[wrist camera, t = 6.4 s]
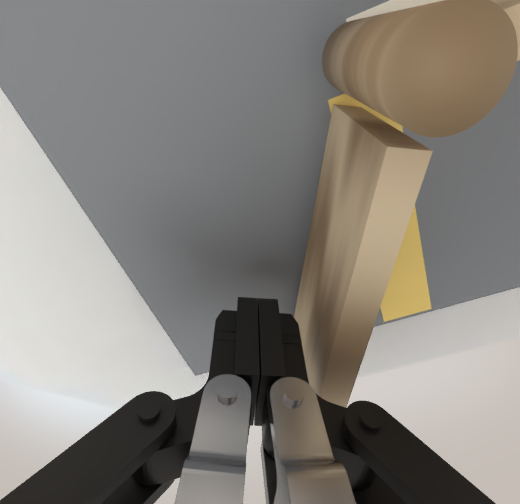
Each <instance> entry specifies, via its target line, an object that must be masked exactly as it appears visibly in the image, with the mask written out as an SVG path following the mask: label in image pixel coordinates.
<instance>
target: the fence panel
mask: <svg viewBox="0 0 520 504" xmlns="http://www.w3.org/2000/svg"><path fill="white" fill-rule="evenodd" d="M432 152H433V151H432V150H430V149H429V148H427V147H425V146H424V145H422V144H420V143H419V142H417V141H416V140H414V139H412V138H411V137H409V136H407V135H406V134H404V133H402V132H401V131H399V130H398V129H396V128H394V127H393V126H391V125H389V124H388V123H386V122H384V121H383V120H381V119H380V118H378V117H376V116H375V115H373V114H371V113H370V112H368V111H366V110H365V109H363V108H362V107H356V106H346V105H336V104H333V109H332V114H331V119H330V125H329V130H328V136H327V141H326V146H325V152H324V157H323V163H322V168H321V173H320V179H319V184H318V189H317V195H316V200H315V206H314V211H313V216H312V222H311V227H310V233H309V238H308V243H307V249H306V254H305V260H304V265H303V270H302V276H301V281H300V286H299V292H298V297H297V303H296V308H295V313H294V318H295V320H296V321H297V322H298V324H299V330H300V337H301V341H302V347H303V353H304V359H305V364H306V370H307V376H308V381H309V384H310V386H311V387H312V388H313V389H314V391H315V393H316V394H317V395H318V396H320V397H321V398H323V399H324V400H326V401H328V402H331V403H334V404H336V405H339V406H342V407H345V408H346V407H347V404H348V401H349V398H350V395H351V392H352V389H353V386H354V383H355V380H356V377H357V374H358V371H359V368H360V365H361V362H362V359H363V356H364V354H365V351H366V348H367V345H368V342H369V339H370V336H371V333H372V330H373V327H374V324H375V321H376V318H377V315H378V312H379V309H380V306H381V303H382V300H383V297H384V294H385V291H386V288H387V285H388V282H389V279H390V276H391V273H392V271H393V268H394V265H395V262H396V259H397V256H398V253H399V250H400V247H401V244H402V241H403V238H404V235H405V232H406V229H407V226H408V223H409V220H410V217H411V214H412V211H413V208H414V205H415V202H416V199H417V196H418V193H419V190H420V188H421V185H422V182H423V179H424V176H425V173H426V170H427V167H428V164H429V161H430V158H431V155H432Z"/></svg>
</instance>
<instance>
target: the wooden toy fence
mask: <svg viewBox="0 0 520 504" xmlns="http://www.w3.org/2000/svg"><path fill="white" fill-rule="evenodd" d="M519 60H520V0H443V1H439V2H434V3H430V4H425V5H421V6H416V7H411V8H407V9H402V10H398V11H393V12H389V13H384V14H380V15H375V16H370V17H366V18H361V19H357V20H352V21H349V22H346V23H344V24H342V25H341V26H339V27H338V28H337V29H336V30H335V31H334V32H333V33H332V34H331V35H330V37H329V38H328V40H327V42H326V44H325V47H324V50H323V55H322V66H323V71H324V74H325V76H326V78H327V80H328V81H329V83H330V84H331V85H332V86H333V87H335V88H336V89H338V90H340V91H341V92H343V93H345V94H347V95H348V96H350V97H352V98H354V99H356V100H357V101H359V102H361V103H363V104H364V105H366V106H368V107H370V108H371V109H373V110H375V111H377V112H378V113H380V114H382V115H384V116H385V117H387V118H389V119H391V120H392V121H394V122H396V123H398V124H399V125H401V126H403V127H405V128H406V129H408V130H410V131H412V132H414V133H416V134H418V135H422V136H426V137H446V136H451V135H454V134H457V133H460V132H462V131H464V130H466V129H468V128H470V127H472V126H473V125H475V124H476V123H478V122H479V121H480V120H482V119H483V118H484V117H485V116H486V115H487V114H488V113H489V112H490V111H491V110H492V109H493V108H494V107H495V106H496V105H497V103H498V102H499V101H500V99H501V98H502V96H503V95H504V93H505V91H506V90H507V88H508V86H509V84H510V81H511V79H512V76H513V73H514V70H515V67H516V61H519Z"/></svg>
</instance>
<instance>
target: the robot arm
mask: <svg viewBox="0 0 520 504" xmlns="http://www.w3.org/2000/svg"><path fill="white" fill-rule="evenodd" d="M253 421H254V425H256V426H262V444H261V458H262V468H263V477H264V487H265V496H266V504H495V503H494V502H493V501H492V500H491V499H489V498H488V497H487V496H486V495H485V494H484V493H482V492H481V491H480V490H479V489H478V488H476V487H475V486H474V485H473V484H472V483H471V482H469V481H468V480H467V479H466V478H465V477H463V476H462V475H461V474H460V473H459V472H458V471H456V470H455V469H454V468H453V467H451V466H450V465H449V464H448V463H447V462H446V461H444V460H443V459H442V458H441V457H440V456H438V455H437V454H436V453H435V452H434V451H433V450H431V449H430V448H429V447H428V446H427V445H425V444H424V443H423V442H422V441H421V440H420V439H418V438H417V437H416V436H415V435H414V434H412V433H411V432H410V431H409V430H408V429H407V428H405V427H404V426H403V425H402V424H401V423H399V422H398V421H397V420H396V419H395V418H393V417H392V416H391V415H390V414H388V413H387V412H386V411H385V410H384V409H383V408H381V407H380V406H378V405H377V404H374V403H372V402H368V401H356V402H353V403H352V404H350V405H349V406H348V408H345V407H342V406H339V405H336V404H334V403H331V402H328V401H326V400H324V399H323V398H321V397H320V396H318V395H317V394H316V393H315V391H314V389H313V388H312V387H311V386H310V384H309V381H308V376H307V370H306V364H305V359H304V353H303V347H302V341H301V337H300V330H299V324H298V322H297V321H296V320H295V318H294V317H293V316H292V314H287V313H279V305H278V299H267V298H258V301H257V298H249V297H238V300H237V311H233V310H222V311H221V313H220V314H219V315H218V317H217V318H216V321H215V329H214V337H213V345H212V354H211V362H210V370H209V377H208V380H207V382H206V384H205V385H204V386H203V388H202V389H200V390H199V391H198V392H196V393H195V394H193V395H191V396H188V397H184V398H180V399H177V400H172V399H171V398H170V397H169V396H168V395H167V394H164V393H162V392H156V391H151V392H145V393H142V394H140V395H138V396H136V397H135V398H133V399H132V400H130V401H129V402H128V403H127V404H125V405H124V406H123V407H121V408H120V409H119V410H117V411H116V412H115V413H114V414H112V415H111V416H110V417H108V418H107V419H106V420H104V421H103V422H102V423H100V424H99V425H98V426H97V427H95V428H94V429H93V430H91V431H90V432H89V433H87V434H86V435H85V436H84V437H82V438H81V439H80V440H78V441H77V442H76V443H74V444H73V445H72V446H71V447H69V448H68V449H67V450H65V451H64V452H63V453H61V454H60V455H59V456H58V457H56V458H55V459H54V460H52V461H51V462H50V463H48V464H47V465H46V466H45V467H44V468H42V469H41V470H39V471H38V472H37V473H35V474H34V475H33V476H31V477H30V478H29V479H27V480H26V481H25V482H24V483H22V484H21V485H20V486H18V487H17V488H16V489H15V490H13V491H12V492H11V493H9V494H8V495H7V496H5V497H4V498H3V499H1V500H0V504H154V503H155V501H156V500H157V499H158V498H159V497H160V496H161V495H162V494H163V493H164V492H165V491H166V490H167V489H168V488H169V486H170V485H171V484H172V483H173V481H174V479H176V478H179V477H180V482H179V486H178V491H177V495H176V499H175V504H243V495H244V484H245V472H246V451H247V443H248V435H249V428H250V425H253Z"/></svg>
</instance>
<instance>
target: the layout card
mask: <svg viewBox="0 0 520 504" xmlns="http://www.w3.org/2000/svg"><path fill="white" fill-rule="evenodd" d="M439 1H443V0H0V87H1V89H2V90H3V92H4V93H5V95H6V96H7V98H8V99H9V101H10V102H11V103H12V105H13V106H14V108H15V109H16V111H17V112H18V114H19V115H20V117H21V118H22V120H23V121H24V123H25V124H26V126H27V127H28V129H29V130H30V132H31V133H32V135H33V136H34V138H35V139H36V141H37V142H38V143H39V145H40V146H41V148H42V149H43V151H44V152H45V154H46V155H47V157H48V158H49V160H50V161H51V163H52V164H53V166H54V167H55V169H56V170H57V172H58V173H59V175H60V176H61V178H62V179H63V180H64V182H65V183H66V185H67V186H68V188H69V189H70V191H71V192H72V194H73V195H74V197H75V198H76V200H77V201H78V203H79V204H80V206H81V207H82V209H83V210H84V212H85V213H86V215H87V216H88V217H89V219H90V220H91V222H92V223H93V225H94V226H95V228H96V229H97V231H98V232H99V234H100V235H101V237H102V238H103V240H104V241H105V243H106V244H107V246H108V247H109V249H110V250H111V252H112V253H113V255H114V256H115V257H116V259H117V260H118V262H119V263H120V265H121V266H122V268H123V269H124V271H125V272H126V274H127V275H128V277H129V278H130V280H131V281H132V283H133V284H134V286H135V287H136V289H137V290H138V292H139V293H140V294H141V296H142V297H143V299H144V300H145V302H146V303H147V305H148V306H149V308H150V309H151V311H152V312H153V314H154V315H155V317H156V318H157V320H158V321H159V323H160V324H161V326H162V327H163V329H164V330H165V331H166V333H167V334H168V336H169V337H170V339H171V340H172V342H173V343H174V345H175V346H176V348H177V349H178V351H179V352H180V354H181V355H182V357H183V358H184V360H185V361H186V363H187V364H188V366H189V367H190V368H191V370H192V371H193V373H194V374H195V376H196V375H200V374H203V373H207V372H209V370H210V362H211V354H212V345H213V337H214V329H215V321H216V318H217V317H218V315H219V314H220V313H221V311H222V310H233V311H237V300H238V297H249V298H257V301H258V298H267V299H278V305H279V313H287V314H292V316H293V317H294V313H295V308H296V303H297V297H298V292H299V286H300V281H301V276H302V270H303V265H304V260H305V254H306V249H307V243H308V238H309V233H310V227H311V222H312V216H313V211H314V206H315V200H316V195H317V189H318V184H319V179H320V173H321V168H322V163H323V157H324V152H325V146H326V141H327V136H328V130H329V125H330V119H331V114H332V109H333V104H336V105H346V106H356V107H362V108H363V109H365V110H366V111H368V112H370V113H371V114H373V115H375V116H376V117H378V118H380V119H381V120H383V121H384V122H386V123H388V124H389V125H391V126H393V127H394V128H396V129H398V130H399V131H401V132H402V133H404V134H406V135H407V136H409V137H411V138H412V139H414V140H416V141H417V142H419V143H420V144H422V145H424V146H425V147H427V148H429V149H430V150H432V151H433V152H432V155H431V158H430V161H429V164H428V167H427V170H426V173H425V176H424V179H423V182H422V185H421V188H420V190H419V193H418V196H417V199H416V202H415V205H414V208H413V211H412V214H411V217H410V220H409V223H408V226H407V229H406V232H405V235H404V238H403V241H402V244H401V247H400V250H399V253H398V256H397V259H396V262H395V265H394V268H393V271H392V273H391V276H390V279H389V282H388V285H387V288H386V291H385V294H384V297H383V300H382V303H381V306H380V309H379V312H378V315H377V318H376V321H375V324H374V327H375V326H379V325H382V324H386V323H389V322H393V321H397V320H400V319H404V318H408V317H411V316H415V315H419V314H422V313H426V312H430V311H433V310H437V309H441V308H444V307H448V306H452V305H455V304H459V303H463V302H466V301H470V300H473V299H477V298H481V297H484V296H488V295H492V294H495V293H499V292H503V291H506V290H510V289H514V288H517V287H520V60H519V61H516V67H515V70H514V73H513V76H512V79H511V81H510V84H509V86H508V88H507V90H506V91H505V93H504V95H503V96H502V98H501V99H500V101H499V102H498V103H497V105H496V106H495V107H494V108H493V109H492V110H491V111H490V112H489V113H488V114H487V115H486V116H485V117H484V118H483V119H482V120H480V121H479V122H478V123H476V124H475V125H473V126H472V127H470V128H468V129H466V130H464V131H462V132H460V133H457V134H454V135H451V136H446V137H426V136H422V135H418V134H416V133H414V132H412V131H410V130H408V129H406V128H405V127H403V126H401V125H399V124H398V123H396V122H394V121H392V120H391V119H389V118H387V117H385V116H384V115H382V114H380V113H378V112H377V111H375V110H373V109H371V108H370V107H368V106H366V105H364V104H363V103H361V102H359V101H357V100H356V99H354V98H352V97H350V96H348V95H347V94H345V93H343V92H341V91H340V90H338V89H336V88H335V87H333V86H332V85H331V84H330V83H329V81H328V80H327V78H326V76H325V74H324V71H323V66H322V55H323V50H324V47H325V44H326V42H327V40H328V38H329V37H330V35H331V34H332V33H333V32H334V31H335V30H336V29H337V28H338V27H339V26H341V25H342V24H344V23H346V22H349V21H352V20H357V19H361V18H366V17H370V16H375V15H380V14H384V13H389V12H393V11H398V10H402V9H407V8H411V7H416V6H421V5H425V4H430V3H434V2H439Z"/></svg>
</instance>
